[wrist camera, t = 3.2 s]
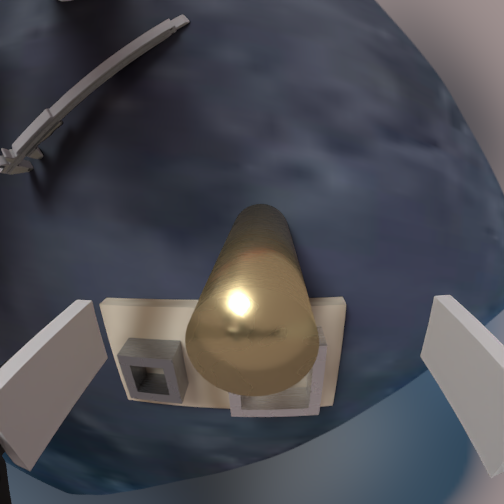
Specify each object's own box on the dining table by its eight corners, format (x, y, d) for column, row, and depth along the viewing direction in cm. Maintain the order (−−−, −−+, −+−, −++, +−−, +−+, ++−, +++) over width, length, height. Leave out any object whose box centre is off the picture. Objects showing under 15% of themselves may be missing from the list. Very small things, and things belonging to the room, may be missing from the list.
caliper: (33, 171, 24) (-10, 179, 18) (28, 163, 24) (-15, 170, 18) (191, 23, 20) (170, -10, 14) (184, 15, 20) (162, -18, 14)
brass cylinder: (232, 204, 25) (176, 287, 9) (288, 203, 24) (323, 285, 9) (234, 258, 26) (194, 394, 11) (288, 256, 26) (314, 394, 10)
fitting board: (342, 296, 26) (355, 322, 22) (330, 396, 30) (337, 426, 26) (106, 297, 28) (84, 319, 23) (132, 391, 31) (119, 417, 27)
